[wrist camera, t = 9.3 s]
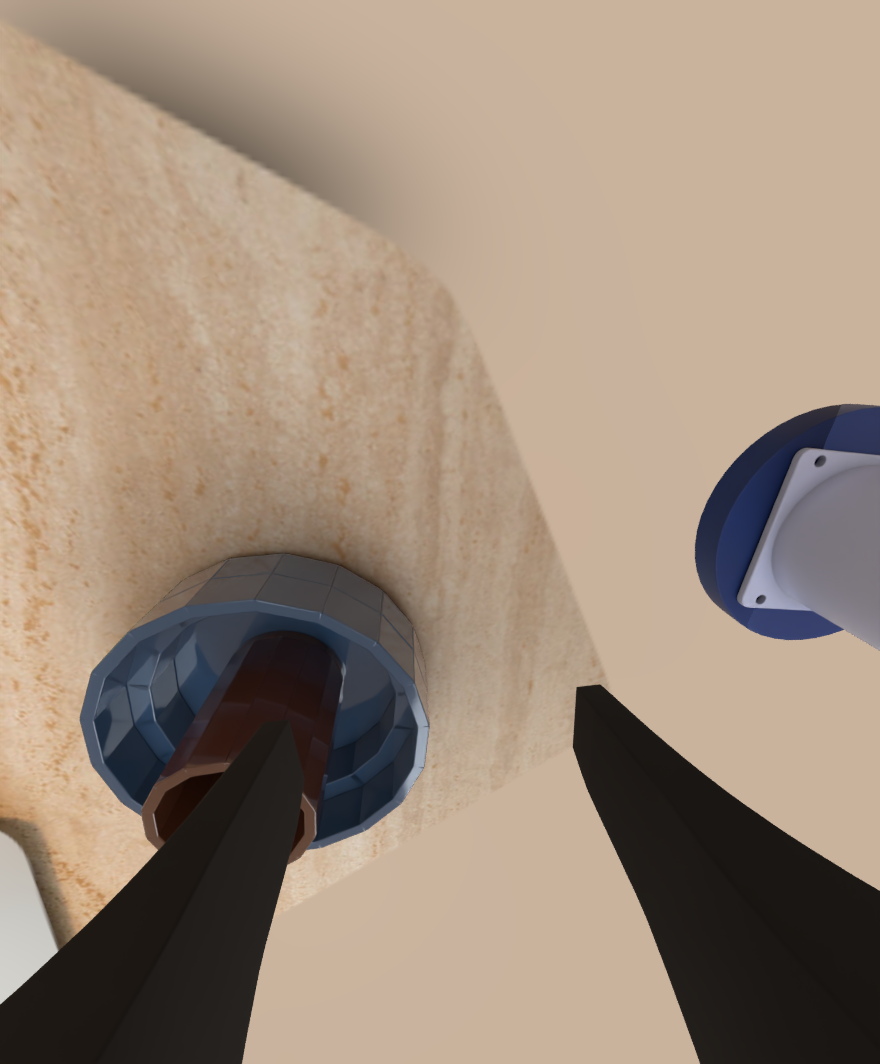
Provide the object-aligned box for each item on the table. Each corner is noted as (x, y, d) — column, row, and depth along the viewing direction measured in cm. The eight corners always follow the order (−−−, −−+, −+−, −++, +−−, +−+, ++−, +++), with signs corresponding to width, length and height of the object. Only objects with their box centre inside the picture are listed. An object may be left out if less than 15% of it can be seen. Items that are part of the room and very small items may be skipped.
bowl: (435, 556, 19) (444, 609, 15) (412, 767, 24) (413, 853, 20) (130, 536, 18) (44, 588, 13) (169, 765, 22) (114, 857, 18)
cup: (346, 631, 19) (316, 763, 13) (343, 723, 21) (316, 877, 15) (224, 626, 19) (128, 761, 12) (233, 720, 21) (154, 880, 14)
